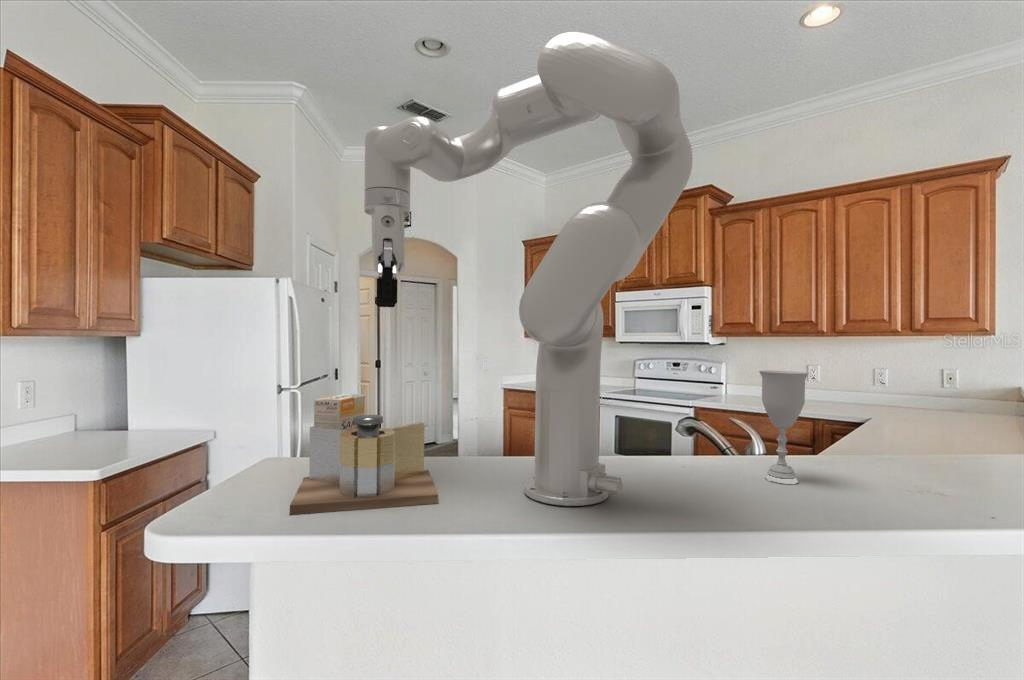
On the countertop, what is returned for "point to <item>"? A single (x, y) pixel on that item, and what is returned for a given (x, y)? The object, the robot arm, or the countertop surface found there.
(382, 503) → the walnut board
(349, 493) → the hinge
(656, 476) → the countertop surface
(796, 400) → the chalice
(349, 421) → the supplement box
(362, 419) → the hinge pin
